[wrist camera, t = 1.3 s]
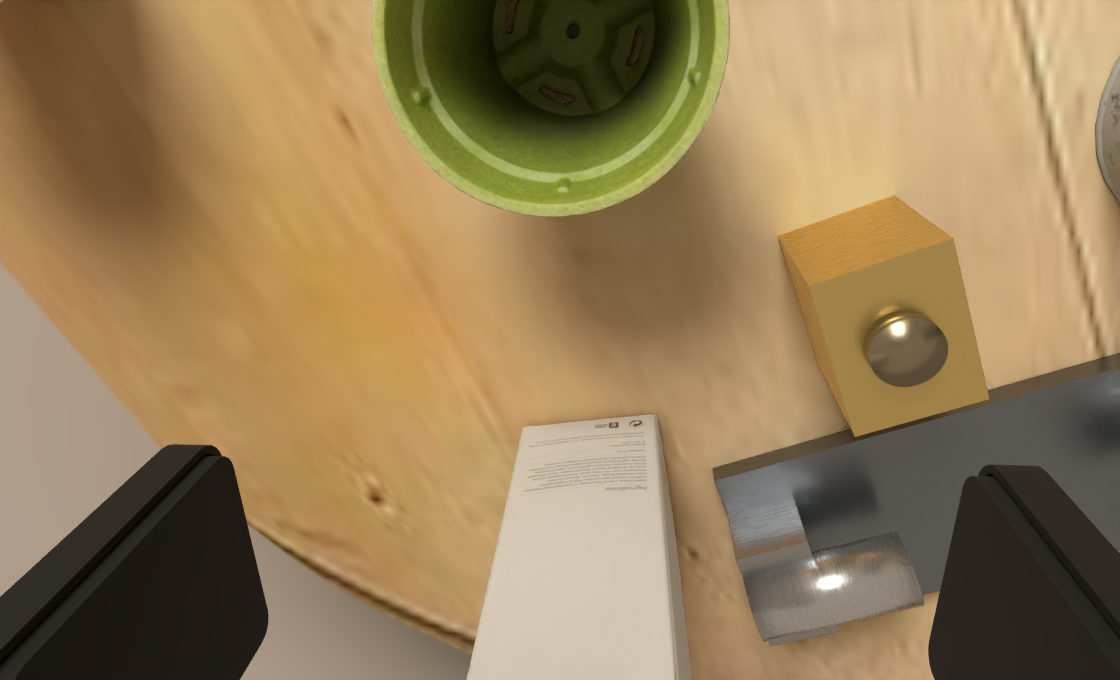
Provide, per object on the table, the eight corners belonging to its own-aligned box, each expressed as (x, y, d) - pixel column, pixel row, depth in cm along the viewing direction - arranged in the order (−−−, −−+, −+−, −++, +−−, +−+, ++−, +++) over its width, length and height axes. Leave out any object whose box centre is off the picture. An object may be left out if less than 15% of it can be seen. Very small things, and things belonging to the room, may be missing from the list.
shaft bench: (1259, 313, 29) (1388, 376, 24) (1273, 496, 32) (1390, 585, 27) (712, 468, 34) (725, 546, 29) (768, 613, 37) (789, 706, 32)
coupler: (777, 235, 30) (813, 294, 24) (893, 195, 29) (963, 245, 23) (817, 363, 32) (860, 449, 26) (927, 330, 31) (999, 410, 25)
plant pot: (662, 188, 29) (670, 253, 22) (429, 129, 29) (352, 173, 22) (738, -77, 26) (783, -116, 18) (470, -145, 26) (395, -215, 18)
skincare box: (522, 420, 34) (440, 710, 20) (667, 407, 33) (689, 702, 19) (551, 566, 38) (498, 904, 23) (684, 558, 37) (713, 906, 22)
